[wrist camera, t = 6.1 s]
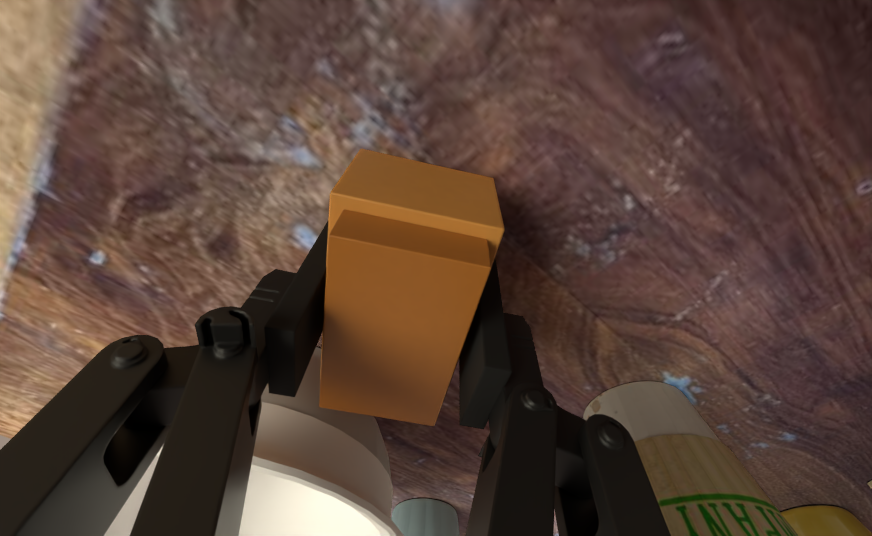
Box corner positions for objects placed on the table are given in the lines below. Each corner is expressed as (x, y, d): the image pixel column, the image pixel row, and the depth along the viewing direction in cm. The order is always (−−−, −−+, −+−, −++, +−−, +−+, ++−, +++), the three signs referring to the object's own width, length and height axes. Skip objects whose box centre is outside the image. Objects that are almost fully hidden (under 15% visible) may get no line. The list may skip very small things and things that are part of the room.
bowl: (126, 259, 18) (-80, 417, 11) (448, 318, 20) (445, 490, 13) (182, 441, 27) (88, 592, 20) (401, 472, 28) (384, 624, 21)
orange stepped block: (344, 311, 18) (307, 412, 14) (360, 147, 14) (312, 217, 9) (446, 330, 18) (443, 434, 14) (493, 177, 14) (511, 258, 9)
